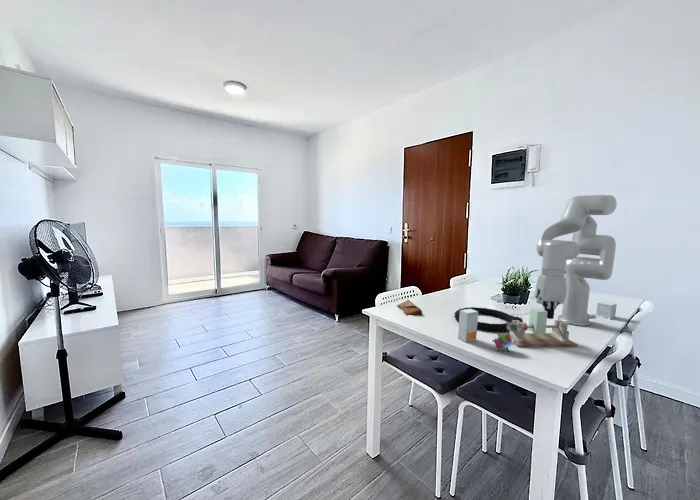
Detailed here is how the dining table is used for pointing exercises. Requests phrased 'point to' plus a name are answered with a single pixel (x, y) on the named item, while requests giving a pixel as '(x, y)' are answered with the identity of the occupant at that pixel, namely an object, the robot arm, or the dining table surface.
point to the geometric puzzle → (503, 341)
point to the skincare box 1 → (468, 325)
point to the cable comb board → (540, 335)
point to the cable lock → (493, 313)
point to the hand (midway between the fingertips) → (548, 317)
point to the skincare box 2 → (606, 309)
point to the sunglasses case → (410, 308)
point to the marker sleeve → (538, 320)
